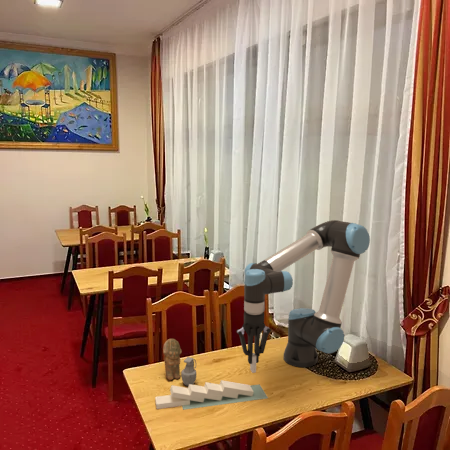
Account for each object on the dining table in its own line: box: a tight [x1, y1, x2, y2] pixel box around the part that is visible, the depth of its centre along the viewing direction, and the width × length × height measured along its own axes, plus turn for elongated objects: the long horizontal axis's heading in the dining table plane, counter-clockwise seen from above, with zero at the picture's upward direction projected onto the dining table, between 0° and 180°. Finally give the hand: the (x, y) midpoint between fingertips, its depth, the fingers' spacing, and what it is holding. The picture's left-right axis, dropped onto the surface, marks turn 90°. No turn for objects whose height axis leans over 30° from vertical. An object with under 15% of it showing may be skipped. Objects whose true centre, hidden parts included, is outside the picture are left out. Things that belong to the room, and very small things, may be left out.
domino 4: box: [203, 381, 238, 398], centre depth 158 cm, size 2×5×12 cm
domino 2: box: [169, 385, 204, 402], centre depth 155 cm, size 2×5×12 cm
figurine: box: [162, 338, 182, 381], centre depth 173 cm, size 8×8×15 cm
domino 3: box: [187, 384, 222, 401], centre depth 156 cm, size 2×5×12 cm
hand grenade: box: [180, 356, 197, 387], centre depth 167 cm, size 6×6×11 cm
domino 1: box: [154, 394, 190, 410], centre depth 154 cm, size 2×5×12 cm
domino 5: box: [219, 380, 254, 396], centre depth 159 cm, size 2×5×12 cm
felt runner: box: [181, 384, 269, 411], centre depth 158 cm, size 32×10×1 cm, turn 104°
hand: (253, 370), depth 160 cm, fingers closed
